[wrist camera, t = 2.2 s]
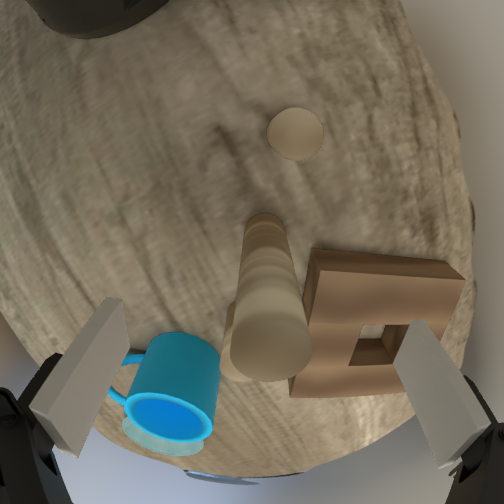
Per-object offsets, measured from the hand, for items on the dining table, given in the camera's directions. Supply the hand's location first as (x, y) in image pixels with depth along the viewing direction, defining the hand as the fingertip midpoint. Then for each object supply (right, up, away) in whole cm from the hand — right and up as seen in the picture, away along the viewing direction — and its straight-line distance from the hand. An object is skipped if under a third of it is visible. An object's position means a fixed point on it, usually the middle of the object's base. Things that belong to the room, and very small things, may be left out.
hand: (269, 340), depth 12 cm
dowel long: (0, +5, +11) cm, 13 cm away
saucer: (-13, -21, +24) cm, 34 cm away
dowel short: (+2, +13, +8) cm, 15 cm away
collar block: (+11, -3, +15) cm, 18 cm away
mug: (-10, -8, +18) cm, 22 cm away
